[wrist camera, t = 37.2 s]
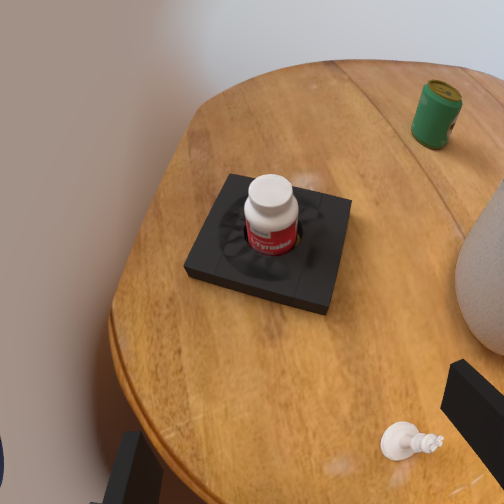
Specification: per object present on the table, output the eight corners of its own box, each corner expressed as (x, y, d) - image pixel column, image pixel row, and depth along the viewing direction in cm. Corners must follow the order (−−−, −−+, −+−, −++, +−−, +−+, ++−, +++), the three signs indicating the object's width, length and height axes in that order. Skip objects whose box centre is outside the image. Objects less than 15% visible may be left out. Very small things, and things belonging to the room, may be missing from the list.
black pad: (188, 276, 41) (183, 266, 38) (231, 186, 48) (229, 173, 46) (325, 315, 37) (329, 307, 34) (348, 213, 44) (351, 200, 42)
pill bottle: (246, 263, 41) (237, 211, 32) (251, 224, 44) (244, 168, 35) (294, 265, 41) (299, 213, 31) (296, 226, 44) (300, 169, 34)
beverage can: (442, 156, 50) (463, 107, 40) (406, 138, 53) (422, 87, 42) (447, 136, 53) (465, 91, 43) (414, 120, 56) (428, 73, 45)
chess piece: (425, 436, 28) (470, 436, 19) (398, 468, 26) (438, 479, 18) (400, 413, 30) (440, 407, 21) (372, 444, 28) (406, 450, 20)
